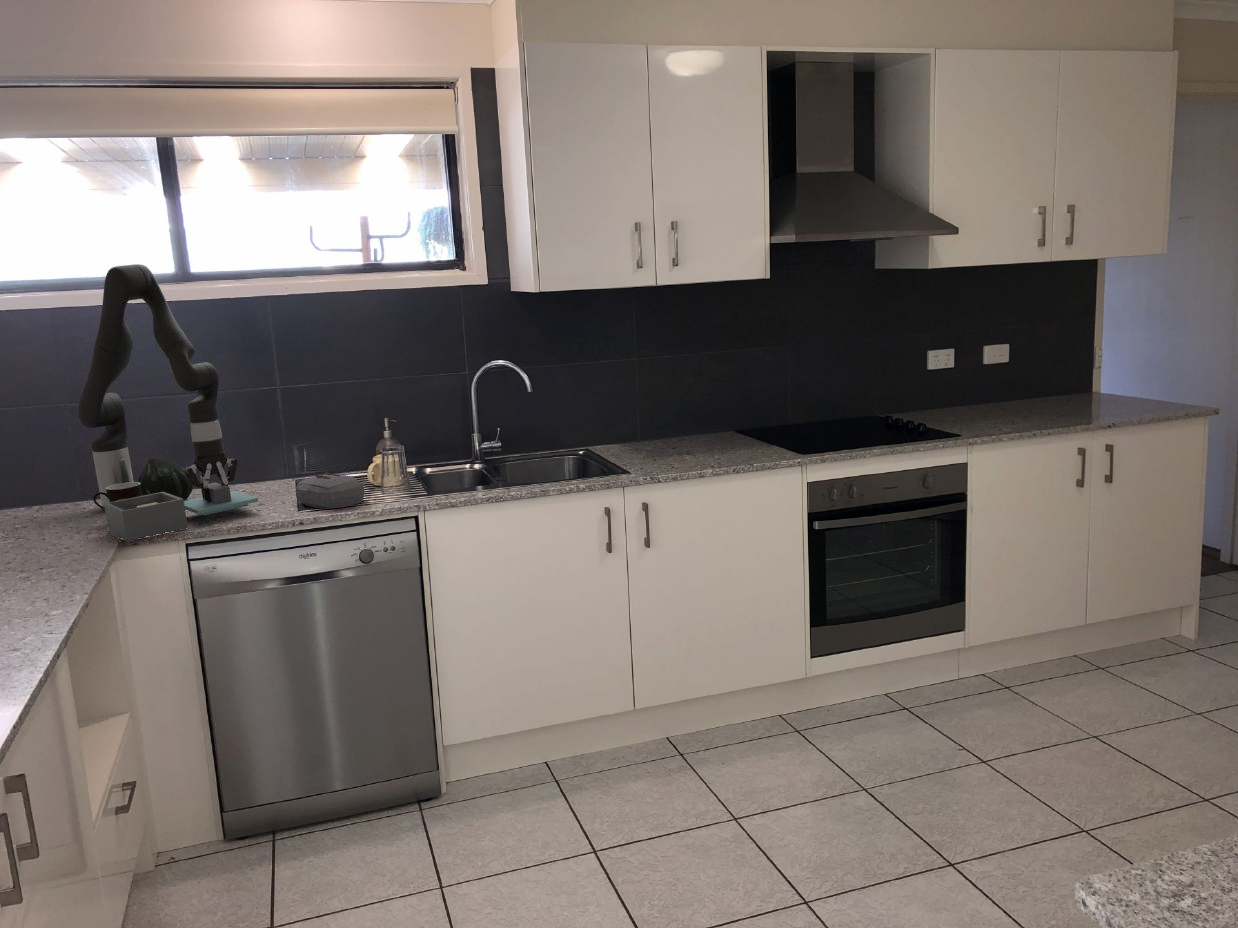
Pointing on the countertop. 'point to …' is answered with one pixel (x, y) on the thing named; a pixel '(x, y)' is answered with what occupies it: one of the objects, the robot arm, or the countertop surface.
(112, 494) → the coffee mug
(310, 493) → the soft grey pack
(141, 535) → the storage box
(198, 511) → the lid
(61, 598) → the countertop surface
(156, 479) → the squash
